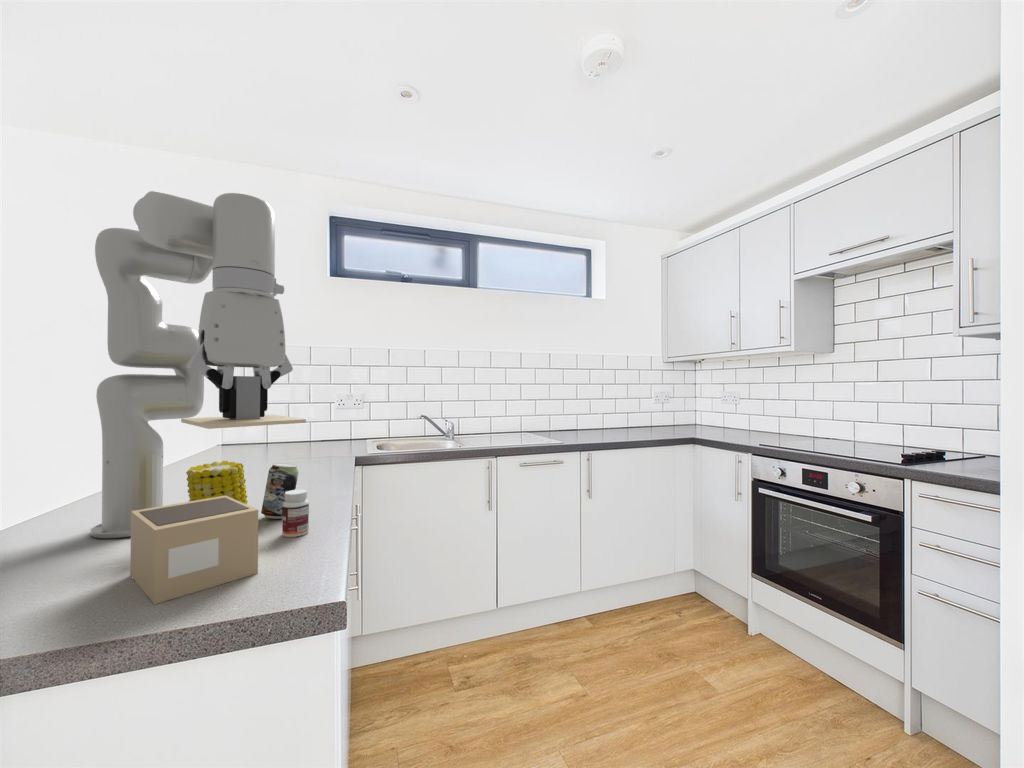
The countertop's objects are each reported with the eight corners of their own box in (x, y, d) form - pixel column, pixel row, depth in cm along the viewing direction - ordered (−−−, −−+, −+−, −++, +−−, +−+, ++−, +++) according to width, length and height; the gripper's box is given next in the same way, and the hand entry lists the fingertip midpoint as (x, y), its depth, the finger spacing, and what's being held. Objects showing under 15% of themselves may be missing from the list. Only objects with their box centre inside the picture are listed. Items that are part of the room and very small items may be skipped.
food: (257, 538, 90) (200, 556, 82) (229, 516, 97) (174, 530, 88) (263, 468, 88) (205, 479, 80) (234, 449, 94) (178, 458, 86)
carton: (130, 575, 69) (130, 510, 69) (225, 551, 79) (225, 494, 79) (154, 604, 60) (155, 529, 60) (258, 573, 70) (258, 509, 70)
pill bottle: (283, 531, 90) (283, 490, 90) (309, 528, 92) (309, 488, 92) (280, 539, 86) (281, 495, 86) (308, 536, 88) (308, 493, 88)
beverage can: (257, 517, 100) (258, 463, 100) (292, 510, 105) (293, 460, 105) (265, 523, 95) (266, 467, 95) (301, 516, 100) (302, 463, 100)
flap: (181, 422, 61) (181, 375, 61) (272, 417, 71) (273, 376, 71) (208, 428, 54) (209, 375, 54) (305, 422, 64) (306, 377, 64)
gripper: (291, 299, 72) (290, 413, 71) (165, 280, 59) (164, 419, 59) (314, 293, 67) (313, 415, 67) (182, 271, 54) (182, 422, 54)
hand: (243, 416), depth 63 cm, fingers closed on flap, 3 cm apart
